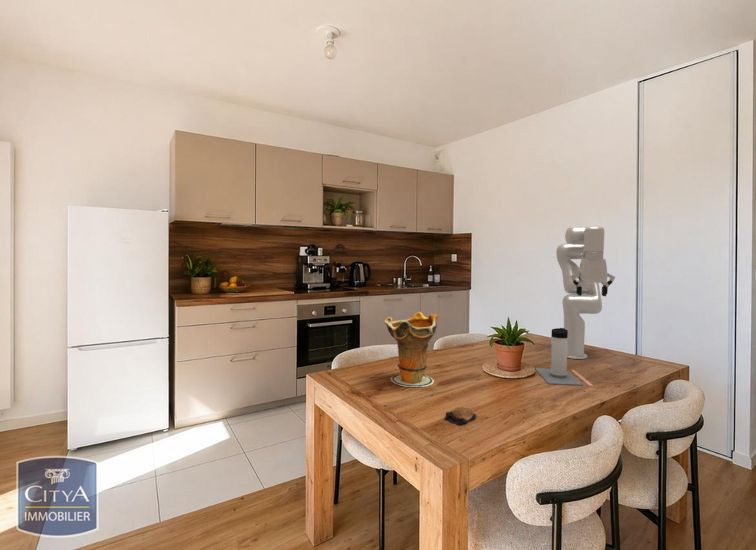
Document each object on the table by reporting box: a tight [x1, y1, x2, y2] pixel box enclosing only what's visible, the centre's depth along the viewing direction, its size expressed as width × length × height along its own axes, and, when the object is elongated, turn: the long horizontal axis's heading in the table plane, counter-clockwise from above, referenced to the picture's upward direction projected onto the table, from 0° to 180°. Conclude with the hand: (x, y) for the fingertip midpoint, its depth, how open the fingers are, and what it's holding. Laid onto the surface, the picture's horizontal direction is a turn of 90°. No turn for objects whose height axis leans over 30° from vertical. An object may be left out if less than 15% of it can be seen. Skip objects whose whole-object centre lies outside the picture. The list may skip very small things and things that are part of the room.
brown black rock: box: [443, 406, 479, 427], centre depth 122 cm, size 11×8×4 cm
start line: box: [570, 369, 594, 387], centre depth 161 cm, size 20×2×1 cm, turn 172°
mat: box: [534, 367, 584, 387], centre depth 162 cm, size 20×13×1 cm, turn 172°
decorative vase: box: [383, 311, 439, 388], centre depth 157 cm, size 21×23×28 cm
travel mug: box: [549, 327, 568, 378], centre depth 162 cm, size 6×7×20 cm
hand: (591, 295), depth 164 cm, fingers open, 9 cm apart
